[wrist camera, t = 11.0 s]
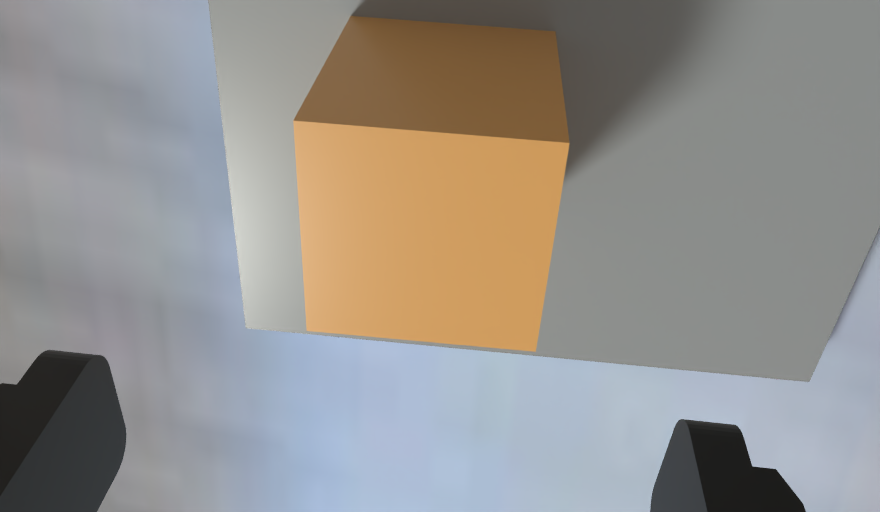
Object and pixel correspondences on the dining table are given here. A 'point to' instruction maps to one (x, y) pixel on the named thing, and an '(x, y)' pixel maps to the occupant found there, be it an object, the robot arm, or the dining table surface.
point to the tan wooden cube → (431, 182)
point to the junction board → (622, 169)
